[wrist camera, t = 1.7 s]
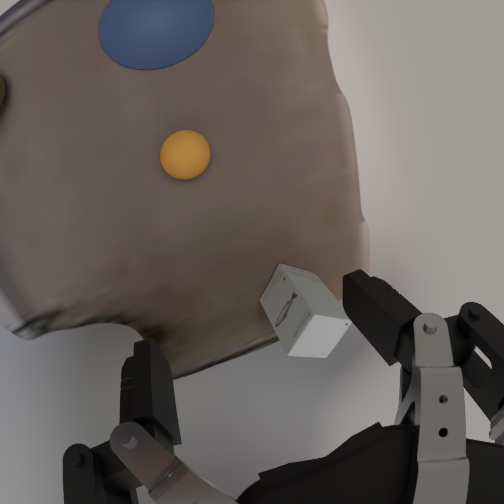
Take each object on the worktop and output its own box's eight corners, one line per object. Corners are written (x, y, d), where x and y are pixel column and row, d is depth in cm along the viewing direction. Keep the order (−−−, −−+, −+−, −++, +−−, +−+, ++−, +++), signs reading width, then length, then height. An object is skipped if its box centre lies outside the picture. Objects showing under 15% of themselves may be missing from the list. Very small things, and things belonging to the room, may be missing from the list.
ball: (155, 136, 30) (153, 139, 25) (201, 123, 30) (207, 124, 26) (167, 179, 32) (167, 191, 28) (211, 167, 33) (219, 176, 28)
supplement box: (277, 261, 42) (316, 312, 32) (315, 272, 45) (356, 319, 35) (257, 300, 45) (286, 357, 34) (294, 308, 48) (327, 359, 37)
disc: (94, -5, 18) (94, -5, 18) (204, -31, 20) (204, -32, 20) (107, 85, 25) (107, 85, 25) (223, 55, 27) (223, 54, 27)
